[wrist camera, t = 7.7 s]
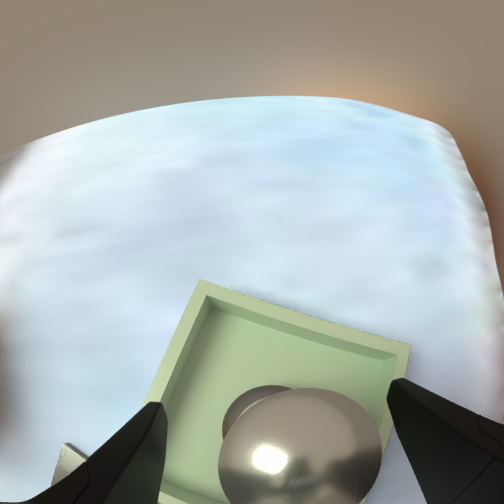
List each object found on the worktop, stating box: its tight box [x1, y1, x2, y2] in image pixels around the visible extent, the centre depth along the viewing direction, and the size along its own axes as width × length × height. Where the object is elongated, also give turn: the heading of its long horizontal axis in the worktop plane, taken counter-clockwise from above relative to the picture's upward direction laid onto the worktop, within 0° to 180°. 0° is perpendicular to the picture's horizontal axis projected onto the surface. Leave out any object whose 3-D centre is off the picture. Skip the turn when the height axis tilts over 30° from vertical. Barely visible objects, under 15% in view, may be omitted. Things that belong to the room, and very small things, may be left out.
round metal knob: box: [218, 385, 382, 504], centre depth 10 cm, size 5×5×12 cm
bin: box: [141, 279, 411, 504], centre depth 14 cm, size 14×14×3 cm
